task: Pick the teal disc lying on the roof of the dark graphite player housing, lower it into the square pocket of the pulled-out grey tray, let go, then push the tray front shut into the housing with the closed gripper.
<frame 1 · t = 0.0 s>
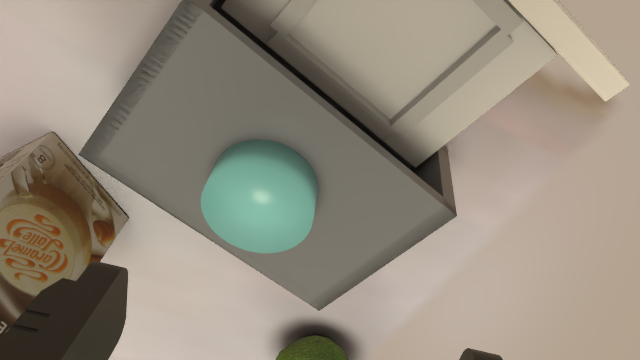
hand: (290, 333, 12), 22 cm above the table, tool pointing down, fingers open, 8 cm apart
avocado: (318, 343, 49), on the table
tray: (398, 31, 26), point 4 cm above the table, slide at 9.0 cm
player housing: (286, 122, 35), on the table
disc: (265, 184, 29), point 7 cm above the table, touching player housing
coffee box: (67, 186, 41), on the table
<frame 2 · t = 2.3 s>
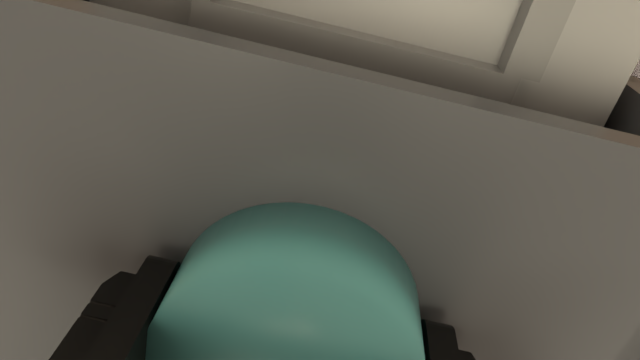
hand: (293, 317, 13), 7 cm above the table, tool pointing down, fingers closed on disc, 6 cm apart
player housing: (320, 174, 19), on the table
disc: (296, 305, 13), point 7 cm above the table, touching gripper, player housing
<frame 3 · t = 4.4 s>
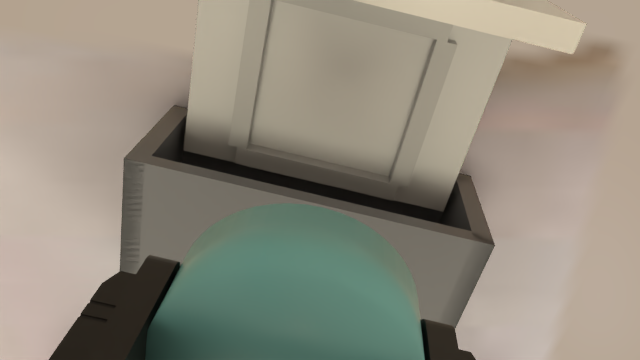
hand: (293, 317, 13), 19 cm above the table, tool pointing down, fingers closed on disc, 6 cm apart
tray: (336, 93, 25), point 4 cm above the table, slide at 9.0 cm
player housing: (303, 223, 34), on the table
disc: (296, 306, 13), point 18 cm above the table, touching gripper
when the fingers open (4 cm above the table, at t = 6.5 s): disc drops 1 cm, resting on tray.
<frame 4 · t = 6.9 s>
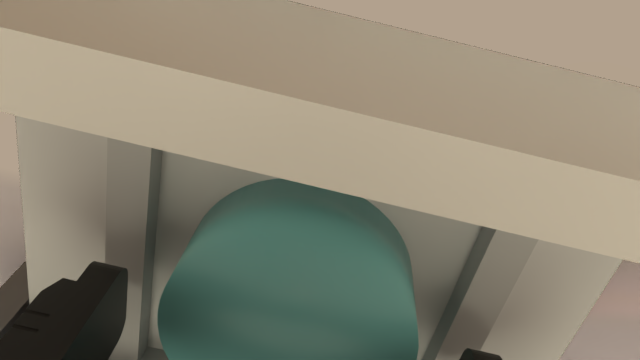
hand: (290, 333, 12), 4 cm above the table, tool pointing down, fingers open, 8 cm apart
tray: (297, 304, 12), point 4 cm above the table, slide at 9.0 cm, touching disc
disc: (299, 276, 14), point 2 cm above the table, touching tray
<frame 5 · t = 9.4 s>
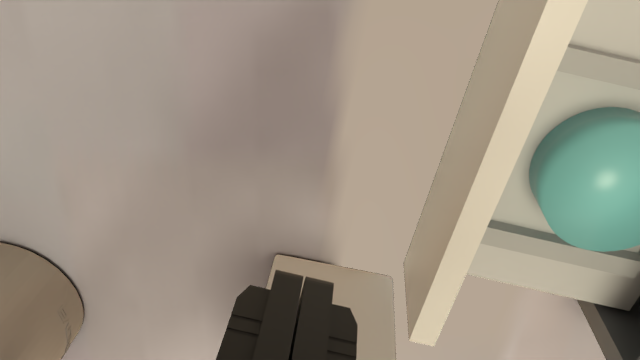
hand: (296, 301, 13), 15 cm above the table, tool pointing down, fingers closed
milk carton: (324, 304, 33), on the table
tray: (597, 182, 23), point 4 cm above the table, slide at 9.0 cm, touching disc
disc: (596, 167, 24), point 2 cm above the table, touching tray
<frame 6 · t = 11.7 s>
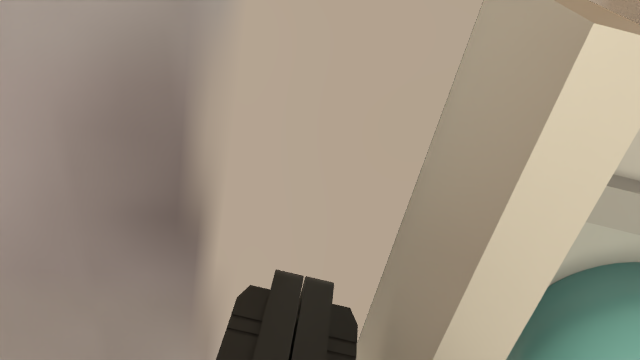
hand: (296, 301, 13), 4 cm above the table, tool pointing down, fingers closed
disc: (612, 346, 15), point 2 cm above the table, touching tray
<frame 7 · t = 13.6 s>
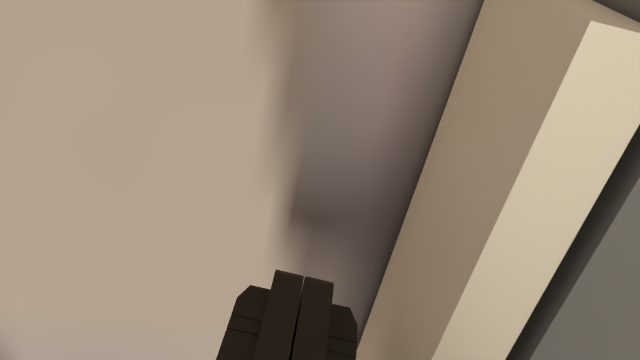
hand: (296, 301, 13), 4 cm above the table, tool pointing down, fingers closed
player housing: (613, 302, 17), on the table
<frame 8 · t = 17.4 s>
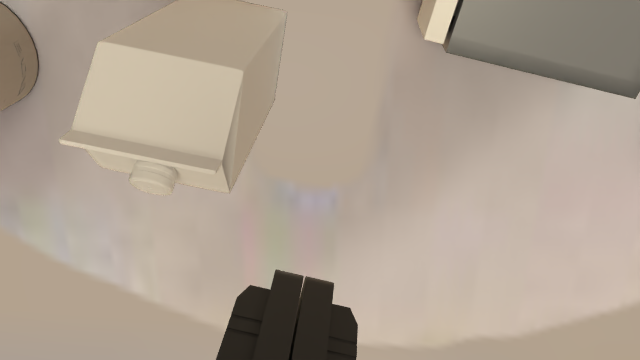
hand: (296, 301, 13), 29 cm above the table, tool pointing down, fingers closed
milk carton: (236, 47, 40), on the table
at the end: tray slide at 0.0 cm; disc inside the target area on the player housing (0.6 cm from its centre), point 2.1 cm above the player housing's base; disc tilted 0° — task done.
